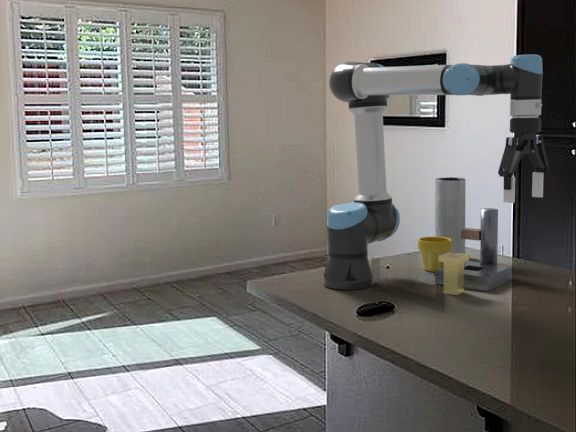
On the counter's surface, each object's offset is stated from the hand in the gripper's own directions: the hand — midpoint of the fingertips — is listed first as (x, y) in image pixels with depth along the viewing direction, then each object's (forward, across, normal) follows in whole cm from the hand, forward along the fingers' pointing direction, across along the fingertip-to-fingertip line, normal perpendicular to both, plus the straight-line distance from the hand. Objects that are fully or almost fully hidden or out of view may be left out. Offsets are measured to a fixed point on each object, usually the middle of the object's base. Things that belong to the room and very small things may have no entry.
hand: (523, 199), depth 175 cm
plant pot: (+27, +12, +37) cm, 47 cm away
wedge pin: (+26, -7, +16) cm, 32 cm away
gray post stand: (+26, +9, +20) cm, 34 cm away
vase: (+27, +29, +44) cm, 59 cm away
